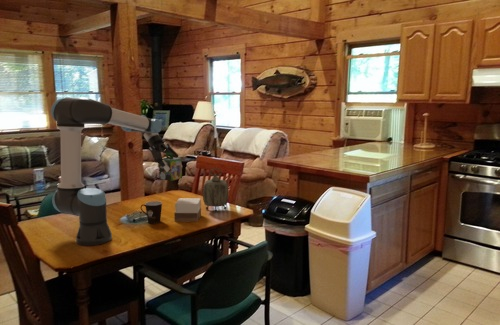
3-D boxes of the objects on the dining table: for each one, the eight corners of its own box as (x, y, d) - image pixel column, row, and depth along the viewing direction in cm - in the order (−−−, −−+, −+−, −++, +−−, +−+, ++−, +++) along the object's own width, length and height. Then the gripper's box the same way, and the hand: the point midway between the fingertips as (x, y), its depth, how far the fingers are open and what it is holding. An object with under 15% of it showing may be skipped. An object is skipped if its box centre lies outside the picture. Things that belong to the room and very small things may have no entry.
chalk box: (182, 178, 216) (182, 152, 214) (171, 181, 209) (170, 154, 206) (170, 176, 221) (169, 151, 219) (158, 179, 214) (158, 152, 211)
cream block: (197, 213, 205) (197, 204, 204) (175, 212, 205) (175, 203, 204) (200, 207, 217) (200, 198, 216) (179, 206, 217) (179, 198, 216)
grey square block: (196, 222, 205) (196, 213, 204) (174, 222, 206) (174, 213, 205) (201, 215, 217) (200, 207, 216) (179, 215, 218) (179, 206, 217)
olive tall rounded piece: (228, 208, 230) (228, 167, 226) (228, 213, 221) (227, 170, 217) (204, 208, 230) (203, 167, 226) (202, 213, 221) (202, 170, 217)
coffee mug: (165, 221, 205) (165, 203, 204) (151, 225, 199) (151, 206, 198) (153, 216, 213) (152, 199, 212) (139, 220, 207) (138, 202, 205)
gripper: (164, 141, 229) (184, 170, 223) (135, 144, 211) (156, 176, 205) (170, 132, 225) (191, 162, 219) (141, 135, 207) (163, 167, 201)
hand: (174, 169), depth 212 cm, fingers closed on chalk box, 9 cm apart
